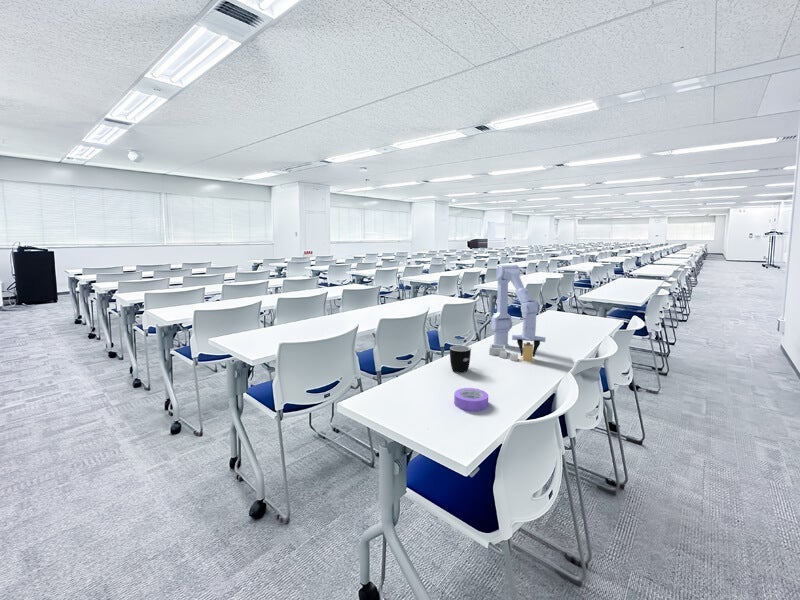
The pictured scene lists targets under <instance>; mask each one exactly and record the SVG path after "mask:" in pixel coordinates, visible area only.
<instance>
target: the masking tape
mask: <svg viewBox="0 0 800 600" xmlns="http://www.w3.org/2000/svg"><path fill="white" fill-rule="evenodd" d="M453 397H454V400H453V403H454V406H455V407H456V408H458V409H460V410H464V411H468V412H479V411H480V412H481V411H483V410H486V409H487V408H488V406H489V394H488V393H487V392H486V391H484V390H482V389H479V388H472V387H463V388H458V389H457V390H455V391H454V395H453Z"/></svg>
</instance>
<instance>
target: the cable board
mask: <svg viewBox="0 0 800 600" xmlns="http://www.w3.org/2000/svg"><path fill="white" fill-rule="evenodd" d="M488 350H489V351H488V352H489V355H490V356H499V358H502V359H507V358H508V350H506V347H505V345H496V344H493V343H490V345H489V349H488ZM518 360H519V352H517V353H516V352H510V361H512V362H513V361H515V362H518ZM520 361H521V362H529V363H535V357H532V361H527V360H523V356H520Z"/></svg>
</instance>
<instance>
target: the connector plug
mask: <svg viewBox="0 0 800 600" xmlns="http://www.w3.org/2000/svg"><path fill="white" fill-rule="evenodd" d="M533 349H534V343H531V341H529V342H527V341H526V342H525V343H523V348H522V351H523V356H522V357H523V360H527V361H526V362H529V361H532V358H533Z"/></svg>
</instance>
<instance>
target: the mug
mask: <svg viewBox="0 0 800 600" xmlns="http://www.w3.org/2000/svg"><path fill="white" fill-rule="evenodd" d="M471 351H472V349H471V347H470V346H468V345H467V346H466V345H461V344H460V345H458V344H457V345H452V346H450V347H449V360H450V362H449V363H450V367H451V370H452V371H453V372H454V373H457V372H458V374H462V373H463V374H464V373H466V372H468V371H469V368H470V362H471V354H472V352H471Z"/></svg>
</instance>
